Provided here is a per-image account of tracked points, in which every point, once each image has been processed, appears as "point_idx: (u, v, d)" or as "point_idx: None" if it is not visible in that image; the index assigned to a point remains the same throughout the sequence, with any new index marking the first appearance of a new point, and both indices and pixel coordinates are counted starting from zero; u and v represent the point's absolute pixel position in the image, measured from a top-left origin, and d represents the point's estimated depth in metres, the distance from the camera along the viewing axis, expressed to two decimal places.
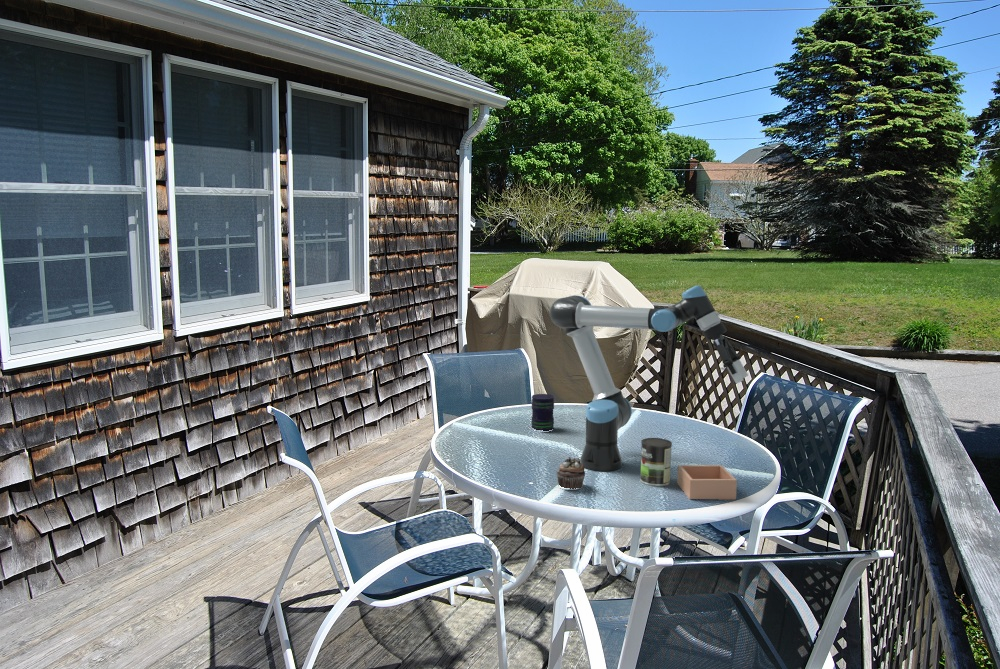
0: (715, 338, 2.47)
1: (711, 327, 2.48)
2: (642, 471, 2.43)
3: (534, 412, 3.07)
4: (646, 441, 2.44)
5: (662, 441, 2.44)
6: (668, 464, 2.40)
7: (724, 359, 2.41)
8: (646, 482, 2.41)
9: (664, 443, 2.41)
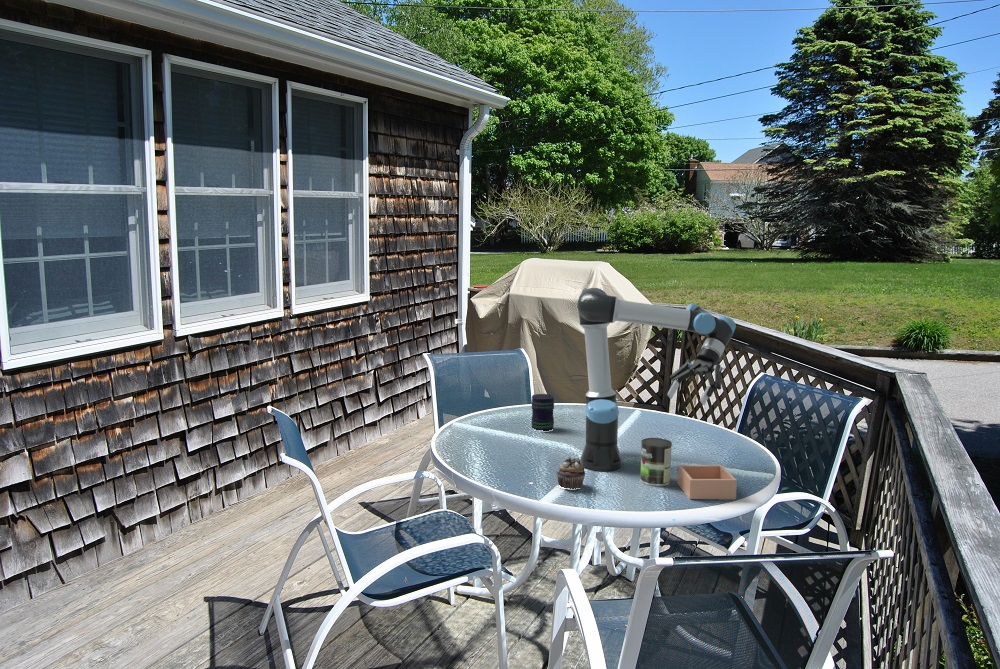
0: (714, 363, 2.55)
1: (718, 355, 2.57)
2: (642, 471, 2.43)
3: (534, 412, 3.07)
4: (646, 441, 2.44)
5: (662, 441, 2.44)
6: (668, 464, 2.40)
7: (719, 382, 2.48)
8: (646, 482, 2.41)
9: (664, 443, 2.41)
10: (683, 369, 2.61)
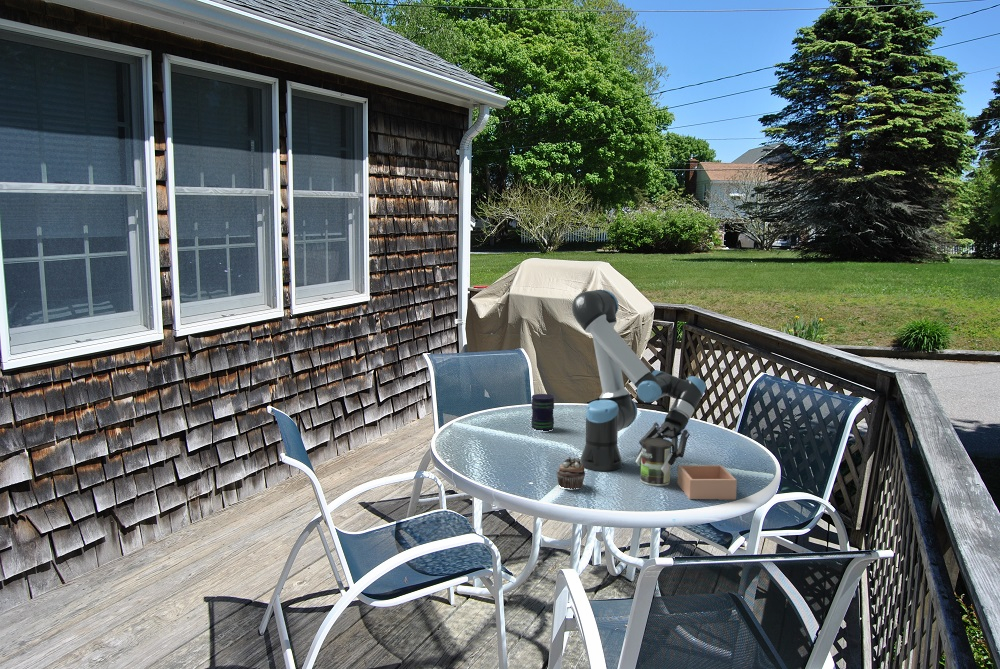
0: (682, 426, 2.46)
1: (686, 417, 2.48)
2: (642, 471, 2.43)
3: (534, 412, 3.07)
4: (646, 441, 2.44)
5: (662, 441, 2.44)
6: None
7: (682, 450, 2.39)
8: (646, 482, 2.41)
9: (664, 443, 2.41)
10: (652, 433, 2.51)
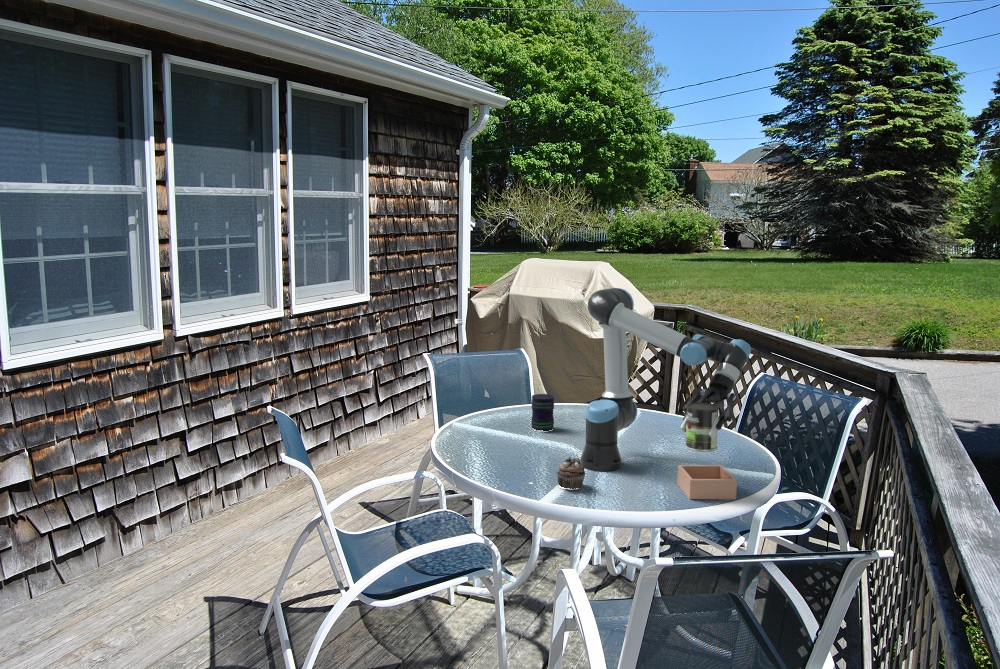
0: (728, 390, 2.35)
1: (732, 381, 2.37)
2: (688, 437, 2.32)
3: (534, 412, 3.07)
4: (691, 406, 2.34)
5: (707, 405, 2.34)
6: None
7: (730, 414, 2.29)
8: (693, 448, 2.31)
9: (711, 407, 2.31)
10: (696, 398, 2.41)
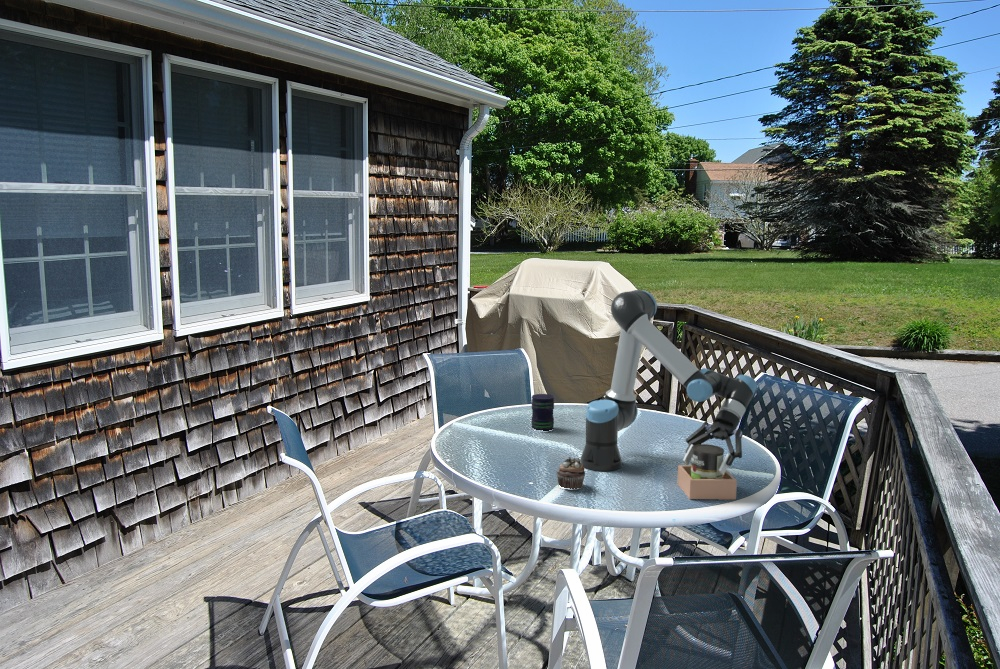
0: (734, 427, 2.36)
1: (738, 418, 2.38)
2: None
3: (534, 412, 3.07)
4: (697, 448, 2.34)
5: (713, 447, 2.35)
6: None
7: (740, 450, 2.29)
8: None
9: (716, 450, 2.32)
10: (700, 432, 2.42)
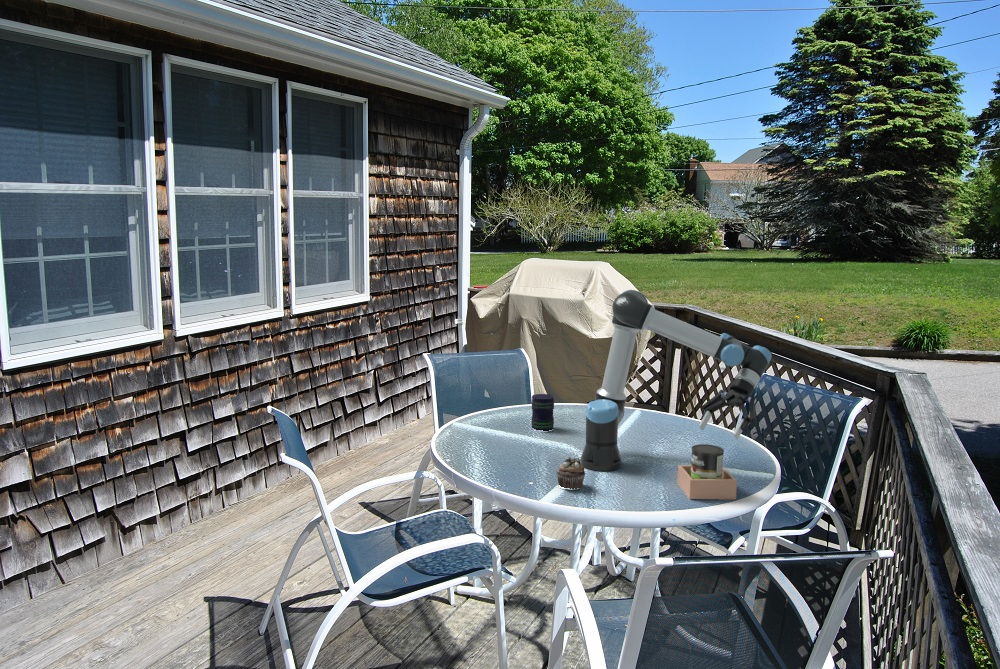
0: (748, 395, 2.47)
1: (752, 386, 2.49)
2: None
3: (534, 412, 3.07)
4: (697, 448, 2.34)
5: (713, 447, 2.35)
6: (720, 472, 2.31)
7: (754, 416, 2.40)
8: None
9: (716, 450, 2.32)
10: (716, 399, 2.53)
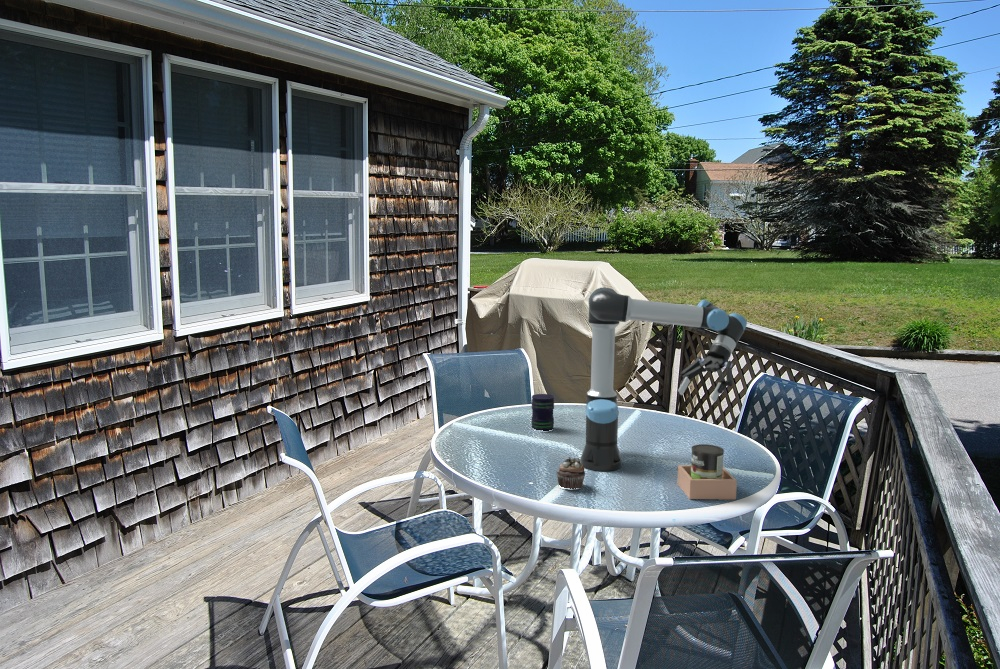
0: (725, 360, 2.55)
1: (729, 351, 2.57)
2: None
3: (534, 412, 3.07)
4: (697, 448, 2.34)
5: (713, 447, 2.35)
6: (720, 472, 2.31)
7: (730, 379, 2.48)
8: None
9: (716, 450, 2.32)
10: (694, 366, 2.61)
